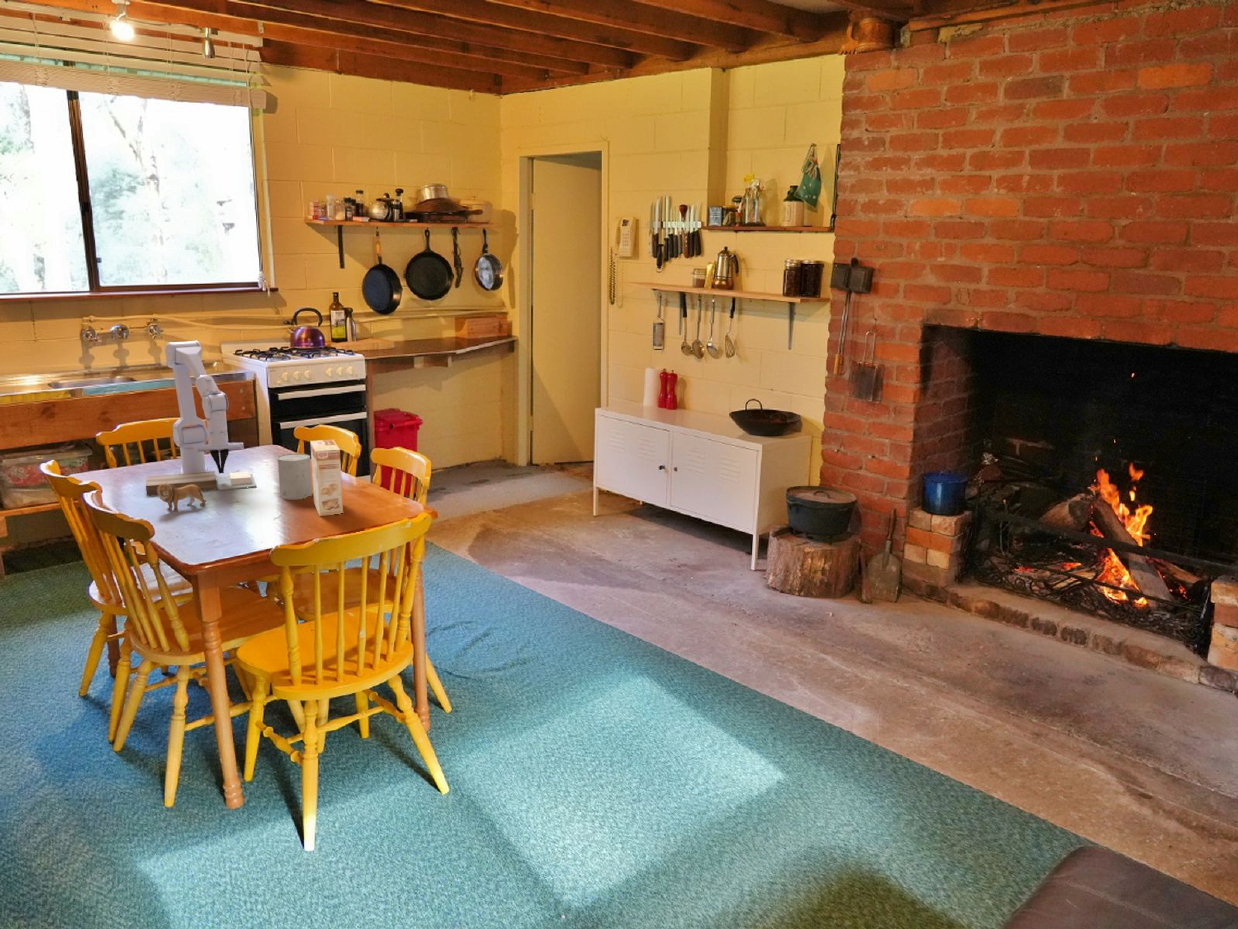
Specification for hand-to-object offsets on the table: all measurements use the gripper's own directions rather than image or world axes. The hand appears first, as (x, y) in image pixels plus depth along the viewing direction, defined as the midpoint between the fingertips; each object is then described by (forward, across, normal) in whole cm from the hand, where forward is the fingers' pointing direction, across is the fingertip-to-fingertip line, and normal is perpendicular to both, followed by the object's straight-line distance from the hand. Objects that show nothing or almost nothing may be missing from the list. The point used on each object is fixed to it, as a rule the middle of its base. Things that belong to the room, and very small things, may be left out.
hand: (221, 472), depth 300 cm
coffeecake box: (+4, +27, -40) cm, 49 cm away
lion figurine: (+4, -12, -25) cm, 28 cm away
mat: (+4, +4, 0) cm, 6 cm away
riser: (+4, -12, 0) cm, 12 cm away
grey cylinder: (+4, +20, -22) cm, 30 cm away
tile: (+1, +6, 0) cm, 6 cm away
